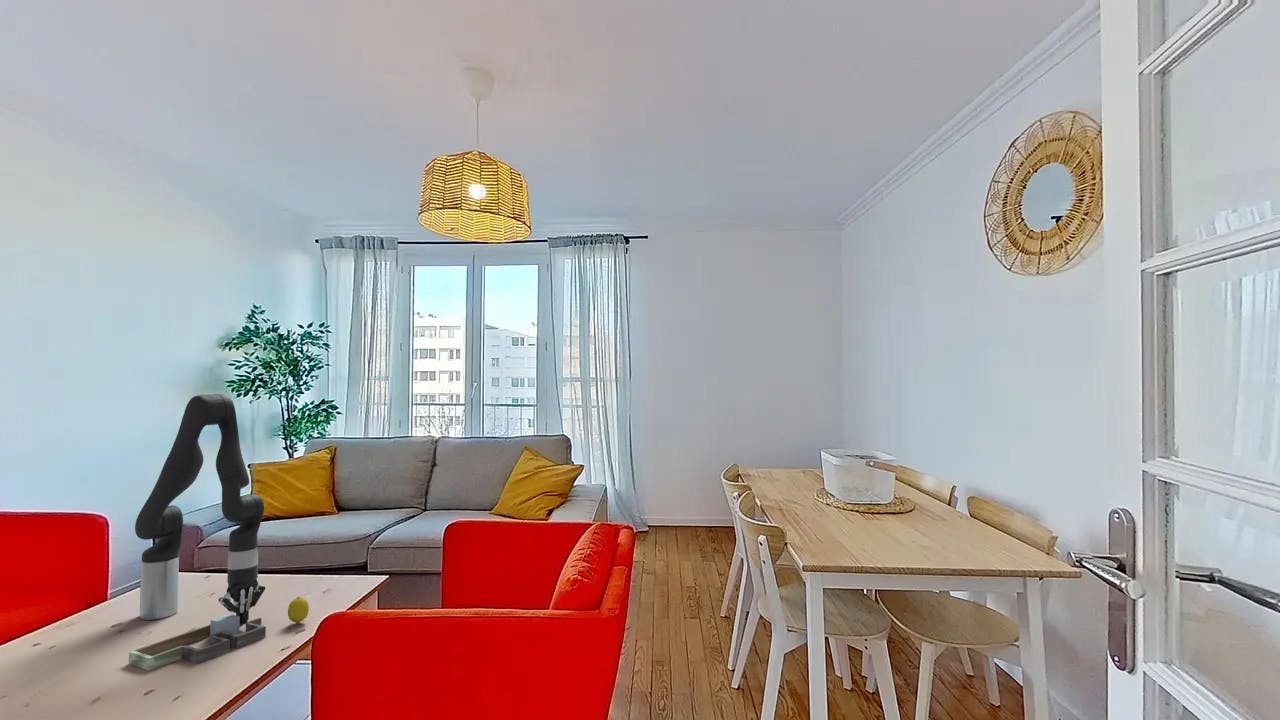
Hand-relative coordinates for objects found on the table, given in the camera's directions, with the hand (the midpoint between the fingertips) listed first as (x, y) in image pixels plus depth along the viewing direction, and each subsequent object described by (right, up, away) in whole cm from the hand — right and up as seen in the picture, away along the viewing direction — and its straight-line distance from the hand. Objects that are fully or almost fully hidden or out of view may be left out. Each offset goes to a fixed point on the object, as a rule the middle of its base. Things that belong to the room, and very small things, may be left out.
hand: (242, 624), depth 181 cm
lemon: (+14, -2, +4) cm, 15 cm away
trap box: (-2, -1, -12) cm, 12 cm away
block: (-2, -1, -5) cm, 5 cm away
